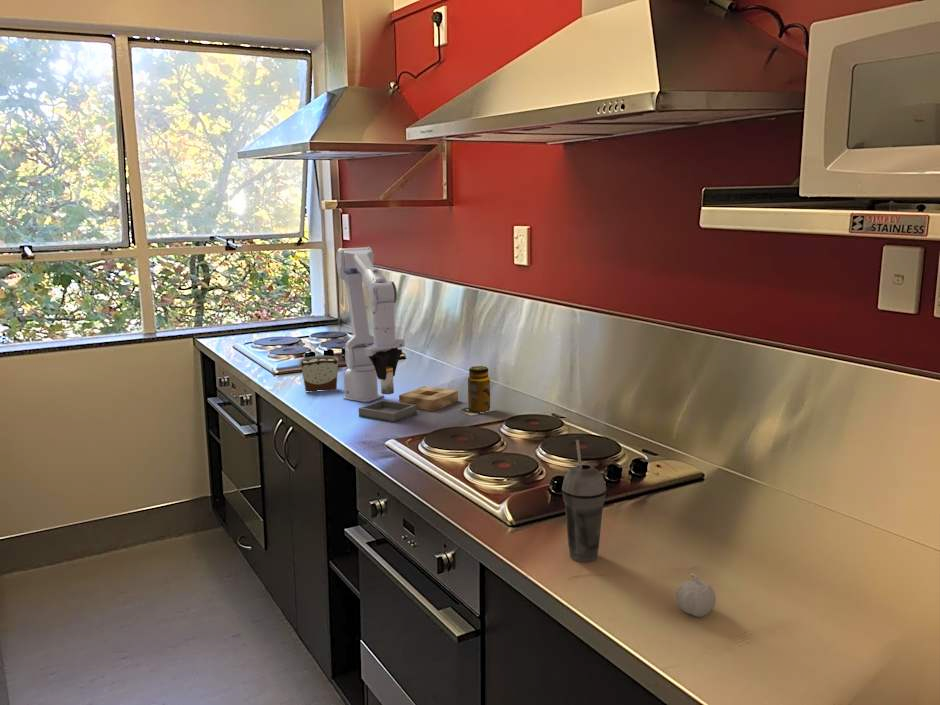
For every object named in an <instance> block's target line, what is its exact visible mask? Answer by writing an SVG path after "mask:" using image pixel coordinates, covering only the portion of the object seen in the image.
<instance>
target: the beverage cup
mask: <svg viewBox="0 0 940 705" xmlns="http://www.w3.org/2000/svg"><path fill="white" fill-rule="evenodd" d="M575 443H576V444H575V445H576V452H577V453H576V454H577V462H578V465H575V466H574V467H572V468H571V469H569V470H568V472H566V474H565V476H564V478H563V482H562V486H561V492H562V498H563V502H564V510H565V520H566V532H567V544H568V550H569V557H570V559H571V560H573V561H576V562H577V563H591V562H594V561H596V560H598V553H599V548H600V541H601V540H600V539H601V528H602V519H603V508H604V504H605V500H606V494H607V490H608V489H607V487H606V481H605V478H604V476H603V475H602V473H601V472H600V470H598V469H597V468H596V467H594V466H592V465H589V464H582V456H581V448H580V440H579V439H576V440H575Z"/></svg>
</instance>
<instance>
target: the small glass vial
mask: <svg viewBox="0 0 940 705" xmlns="http://www.w3.org/2000/svg"><path fill="white" fill-rule="evenodd" d="M394 383H395V382H394V376H393V367H391V366H386V379H384V380H383V379H380V392H381V393H380V394H382V395H393V394H394V393H395V390H394V389H395V385H394Z"/></svg>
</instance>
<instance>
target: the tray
mask: <svg viewBox="0 0 940 705" xmlns="http://www.w3.org/2000/svg"><path fill="white" fill-rule="evenodd" d="M417 410H418V409H417V408H416V405H413V404H406V403H400V402H398V401H394V400H393V401H392V400H387V399H386V400H385V399H381V400H380V399H379V400H377V401H374V402H372V403H369V404H366V405H364V406H361V407H358V417H360V416H361V417H360V418H365V417H366V418H365V419H373V420H376V421H377V420H378V421H384V422H389V423H396V422H398V421H401V420H404V419H406V418H408V417H410V416H413V415H416V414H417V413H418V412H417Z"/></svg>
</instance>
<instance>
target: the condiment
mask: <svg viewBox="0 0 940 705" xmlns="http://www.w3.org/2000/svg"><path fill="white" fill-rule="evenodd" d="M468 370H469V371H468V375H469V376H468V378H467V393H468V394H467V398H468V400H467V401H468V404H467V405H468V407H464V408H463V407H462V408H457V409H456V410H457V411H459V412H461V413H463V414H466V415H468V416H470V417H471V416H476V415H480V414H481V413H480V412H486V411H489V410H490V408H491V378H490V376H489V368H488V367H487V366H483V365H480V366H479V365H475V366H471V367H469V369H468ZM466 409H469V410H468V411H467V410H466ZM474 413H476V414H474ZM478 413H480V414H478ZM481 415H482V414H481Z"/></svg>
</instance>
